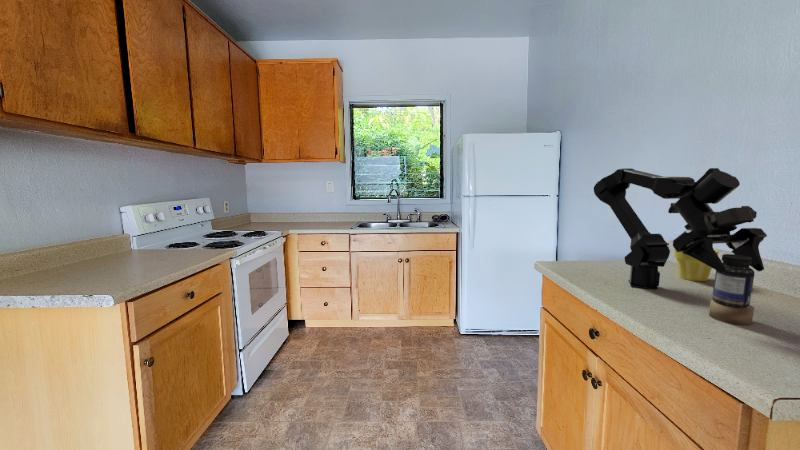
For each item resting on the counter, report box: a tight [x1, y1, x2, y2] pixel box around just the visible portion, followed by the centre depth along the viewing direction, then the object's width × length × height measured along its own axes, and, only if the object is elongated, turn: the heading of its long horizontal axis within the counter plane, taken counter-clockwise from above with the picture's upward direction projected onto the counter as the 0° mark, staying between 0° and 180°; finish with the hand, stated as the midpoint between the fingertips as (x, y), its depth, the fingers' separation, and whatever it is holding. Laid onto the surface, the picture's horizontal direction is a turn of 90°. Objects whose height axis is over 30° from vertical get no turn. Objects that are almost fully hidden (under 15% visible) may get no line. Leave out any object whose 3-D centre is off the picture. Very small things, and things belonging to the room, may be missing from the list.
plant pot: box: [673, 248, 719, 282], centre depth 106 cm, size 10×10×10 cm
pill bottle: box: [711, 253, 755, 308], centre depth 75 cm, size 6×6×11 cm
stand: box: [708, 298, 755, 326], centre depth 75 cm, size 7×7×4 cm
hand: (743, 271), depth 73 cm, fingers open, 9 cm apart
